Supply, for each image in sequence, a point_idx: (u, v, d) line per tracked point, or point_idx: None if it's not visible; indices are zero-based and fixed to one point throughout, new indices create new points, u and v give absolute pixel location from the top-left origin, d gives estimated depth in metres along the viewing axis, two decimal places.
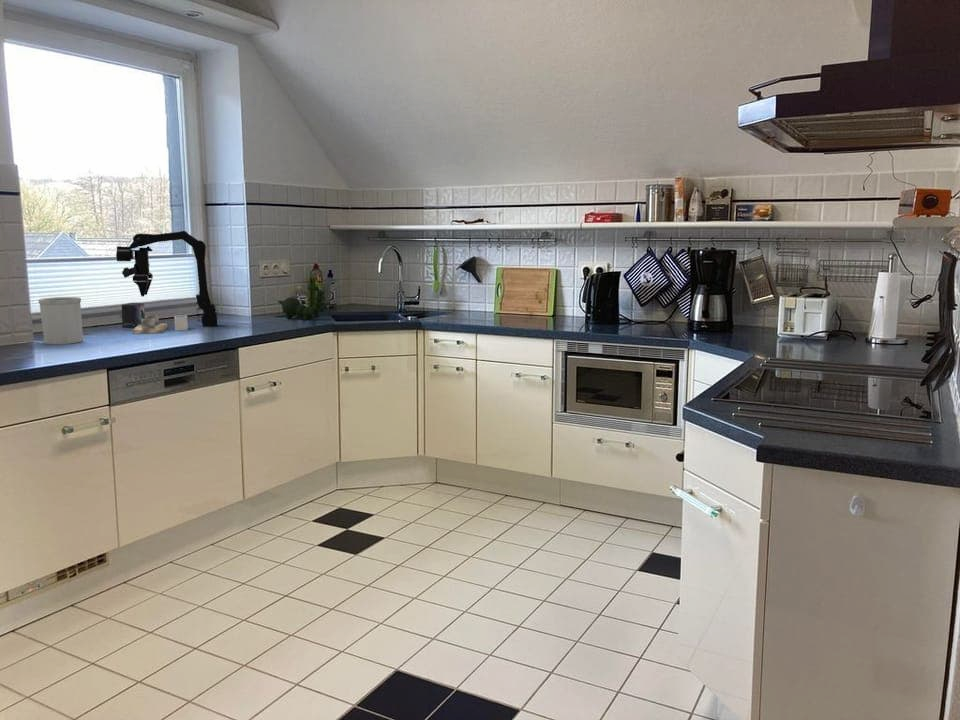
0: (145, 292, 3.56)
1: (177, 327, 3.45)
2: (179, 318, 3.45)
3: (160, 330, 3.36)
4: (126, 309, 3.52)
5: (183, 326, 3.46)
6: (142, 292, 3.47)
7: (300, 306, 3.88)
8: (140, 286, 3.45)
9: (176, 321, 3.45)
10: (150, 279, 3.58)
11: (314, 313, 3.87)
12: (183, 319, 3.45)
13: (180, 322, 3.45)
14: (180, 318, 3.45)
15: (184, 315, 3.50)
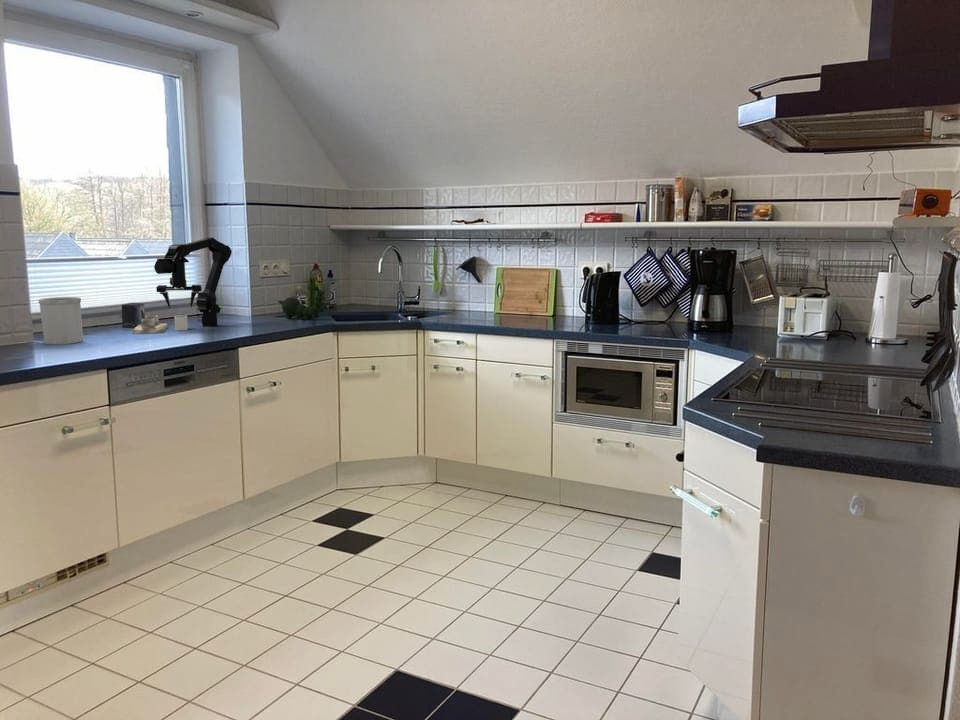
0: None
1: (177, 327, 3.45)
2: (179, 318, 3.45)
3: (160, 330, 3.36)
4: (126, 309, 3.52)
5: (183, 326, 3.46)
6: (167, 303, 3.45)
7: (300, 306, 3.88)
8: None
9: (176, 321, 3.45)
10: (194, 292, 3.46)
11: (314, 313, 3.87)
12: (183, 319, 3.45)
13: (180, 322, 3.45)
14: (180, 318, 3.45)
15: (184, 315, 3.50)
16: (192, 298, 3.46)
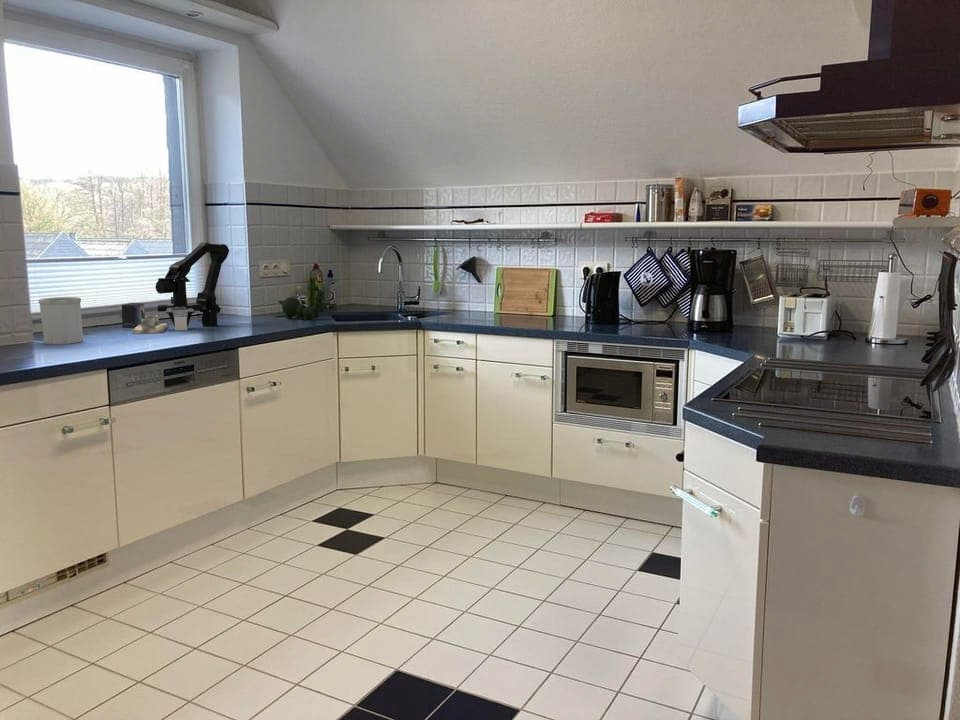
0: None
1: (177, 327, 3.45)
2: (179, 318, 3.45)
3: (160, 330, 3.36)
4: (126, 309, 3.52)
5: (183, 326, 3.46)
6: (173, 322, 3.47)
7: (300, 306, 3.88)
8: None
9: (176, 321, 3.45)
10: (190, 311, 3.46)
11: (314, 313, 3.87)
12: (183, 319, 3.45)
13: (180, 322, 3.45)
14: (180, 318, 3.45)
15: (184, 315, 3.50)
16: (188, 317, 3.47)
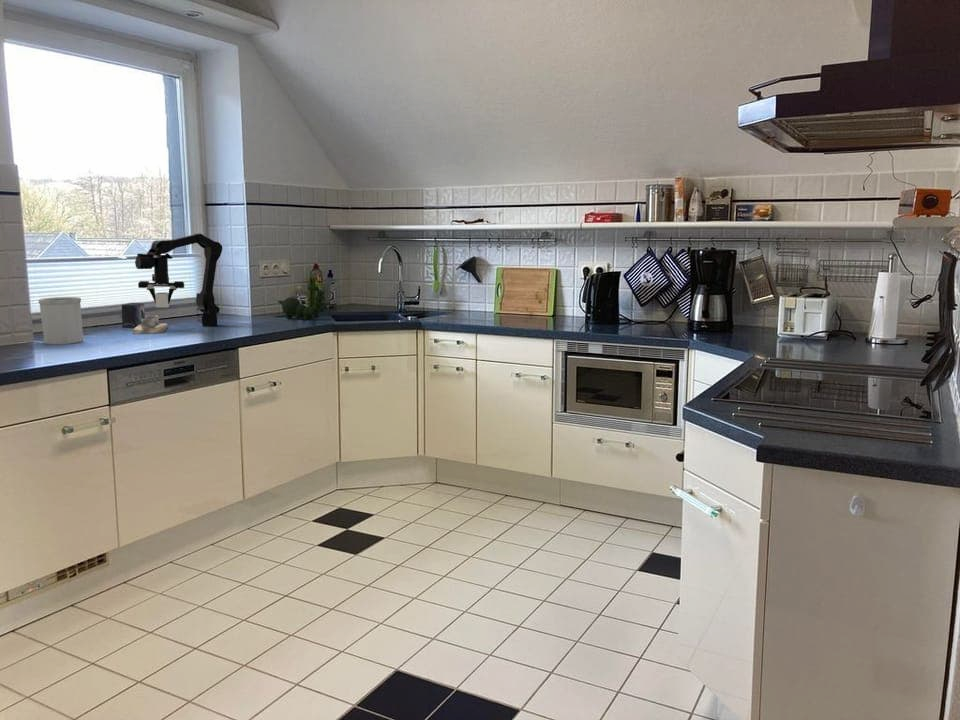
0: (168, 301, 3.45)
1: (158, 304, 3.41)
2: (160, 295, 3.41)
3: (160, 330, 3.36)
4: (126, 309, 3.52)
5: (165, 303, 3.42)
6: (154, 299, 3.43)
7: (300, 306, 3.88)
8: None
9: (157, 298, 3.40)
10: (172, 288, 3.42)
11: (314, 313, 3.87)
12: (164, 296, 3.41)
13: (161, 299, 3.41)
14: (161, 295, 3.41)
15: None
16: (170, 294, 3.43)
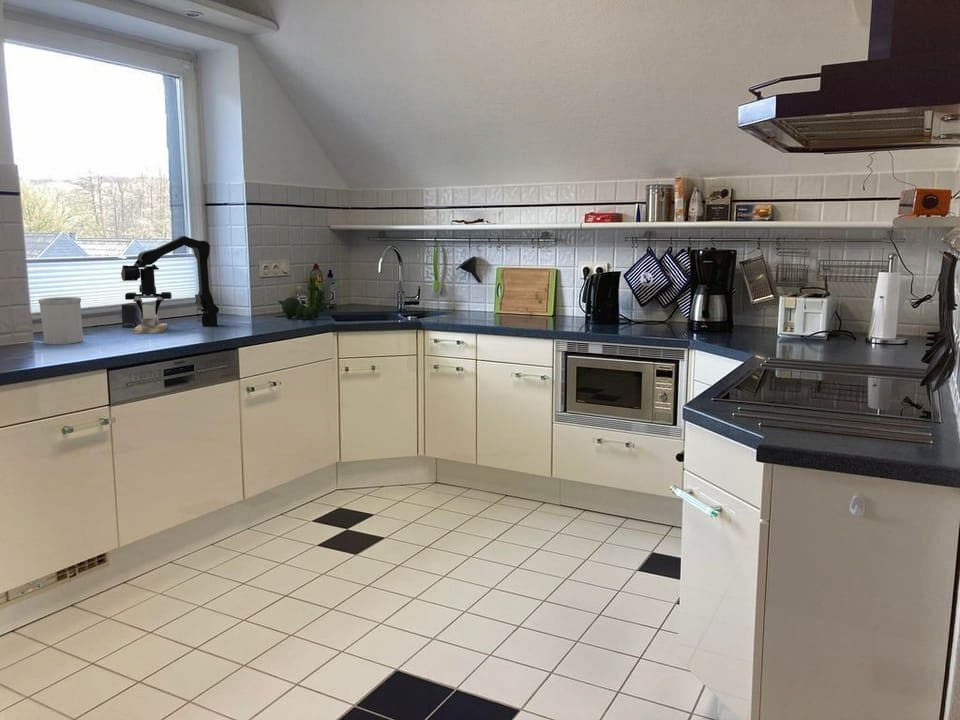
0: None
1: (146, 315, 3.41)
2: (147, 306, 3.40)
3: (160, 330, 3.36)
4: (126, 309, 3.52)
5: (152, 314, 3.41)
6: None
7: (300, 306, 3.88)
8: None
9: (144, 309, 3.40)
10: (159, 299, 3.42)
11: (314, 313, 3.87)
12: (151, 307, 3.41)
13: (148, 310, 3.41)
14: (148, 306, 3.40)
15: None
16: (157, 306, 3.42)
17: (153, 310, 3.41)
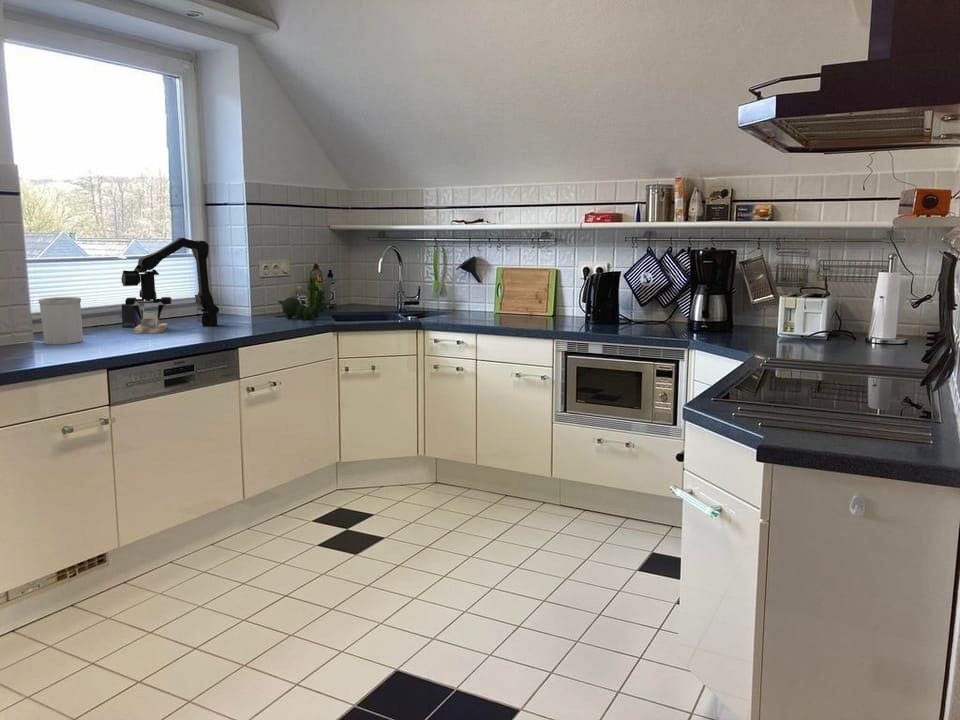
0: (158, 317, 3.45)
1: None
2: (148, 314, 3.41)
3: (160, 330, 3.36)
4: (126, 309, 3.52)
5: None
6: None
7: (300, 306, 3.88)
8: None
9: (145, 317, 3.41)
10: (161, 304, 3.42)
11: (314, 313, 3.87)
12: (152, 315, 3.41)
13: (149, 318, 3.41)
14: (149, 314, 3.41)
15: (153, 311, 3.46)
16: (159, 311, 3.43)
17: (153, 318, 3.42)
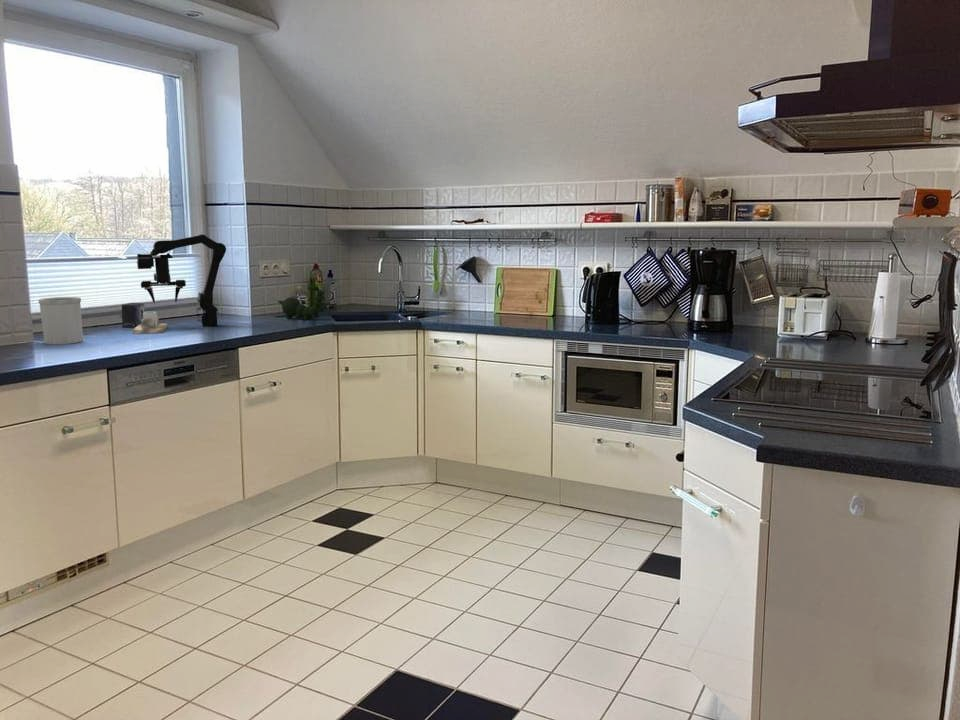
0: (175, 299, 3.53)
1: None
2: (148, 314, 3.41)
3: (160, 330, 3.36)
4: (126, 309, 3.52)
5: None
6: (152, 299, 3.50)
7: (300, 306, 3.88)
8: None
9: (145, 317, 3.41)
10: None
11: (314, 313, 3.87)
12: (152, 315, 3.41)
13: (149, 318, 3.41)
14: (149, 314, 3.41)
15: (153, 311, 3.46)
16: (176, 293, 3.51)
17: (153, 318, 3.42)
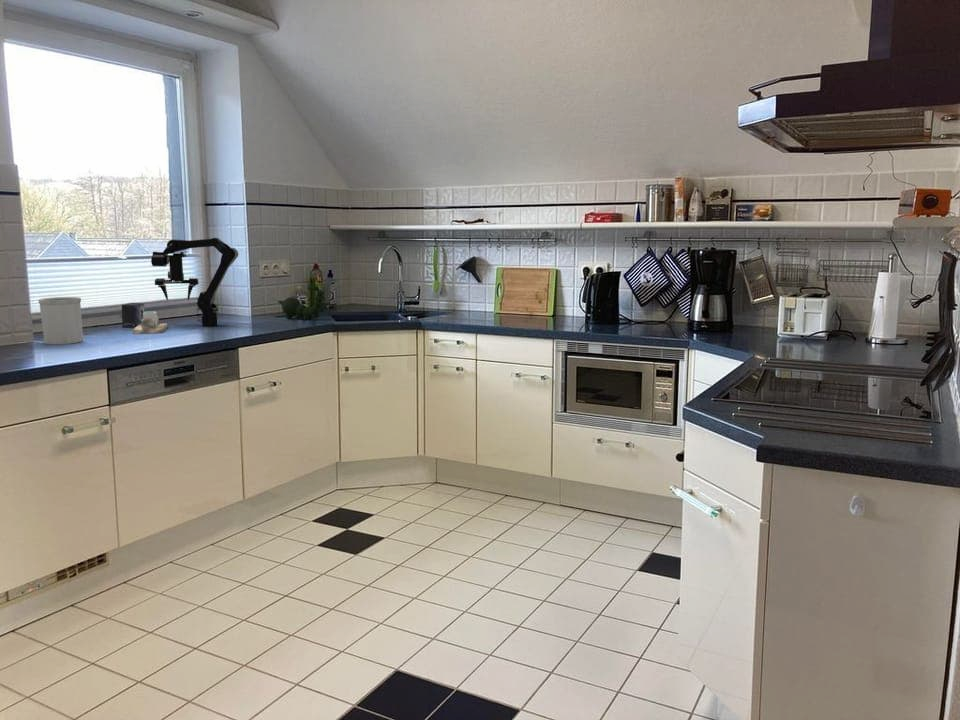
0: None
1: None
2: (148, 314, 3.41)
3: (160, 330, 3.36)
4: (126, 309, 3.52)
5: None
6: (165, 296, 3.57)
7: (300, 306, 3.88)
8: None
9: (145, 317, 3.41)
10: (191, 285, 3.58)
11: (314, 313, 3.87)
12: (152, 315, 3.41)
13: (149, 318, 3.41)
14: (149, 314, 3.41)
15: (153, 311, 3.46)
16: (189, 291, 3.58)
17: (153, 318, 3.42)
